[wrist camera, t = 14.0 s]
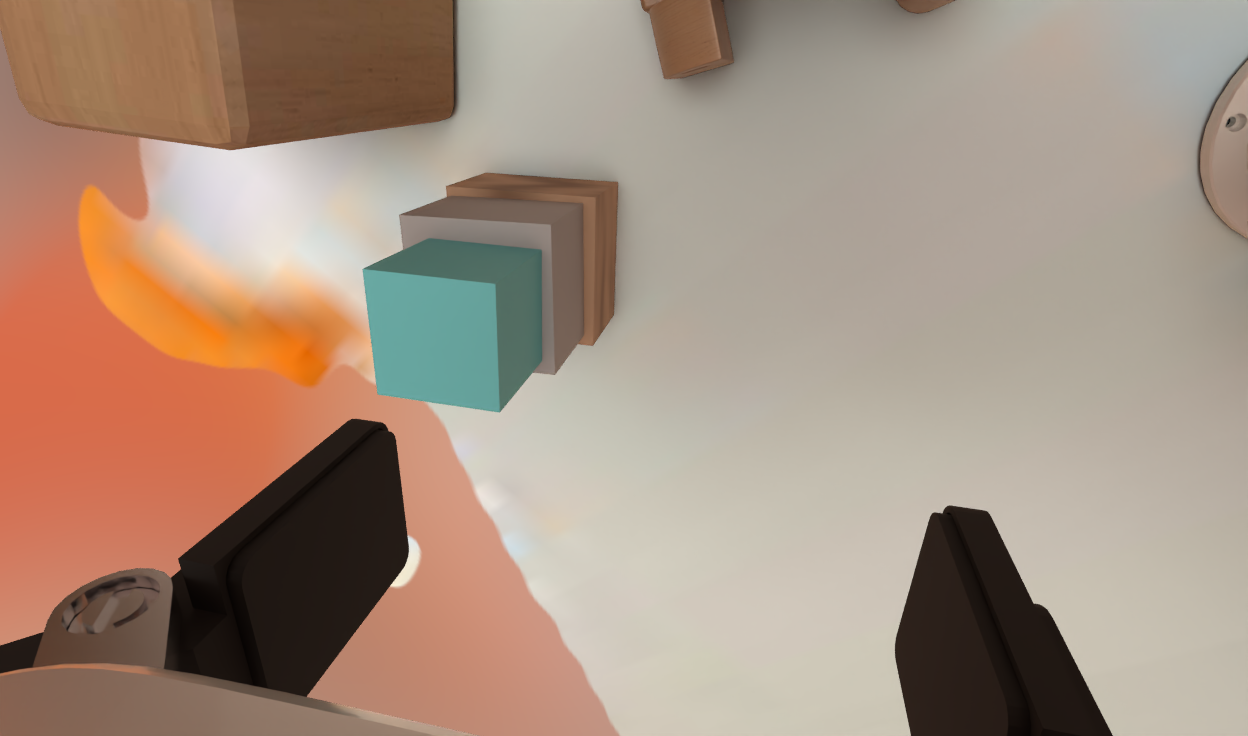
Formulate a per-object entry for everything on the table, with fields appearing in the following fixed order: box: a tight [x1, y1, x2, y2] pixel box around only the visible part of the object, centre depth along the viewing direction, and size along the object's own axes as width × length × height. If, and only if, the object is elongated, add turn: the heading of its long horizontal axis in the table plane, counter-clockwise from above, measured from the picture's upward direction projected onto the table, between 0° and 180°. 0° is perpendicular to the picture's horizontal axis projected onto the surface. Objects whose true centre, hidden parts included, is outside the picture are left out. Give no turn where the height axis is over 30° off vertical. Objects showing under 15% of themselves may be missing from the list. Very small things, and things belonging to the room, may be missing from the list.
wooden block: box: [0, 0, 454, 150], centre depth 33 cm, size 10×10×20 cm
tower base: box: [446, 173, 618, 346], centre depth 42 cm, size 9×9×6 cm
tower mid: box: [399, 196, 584, 375], centre depth 37 cm, size 8×8×6 cm
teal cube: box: [363, 238, 542, 412], centre depth 32 cm, size 6×6×6 cm
